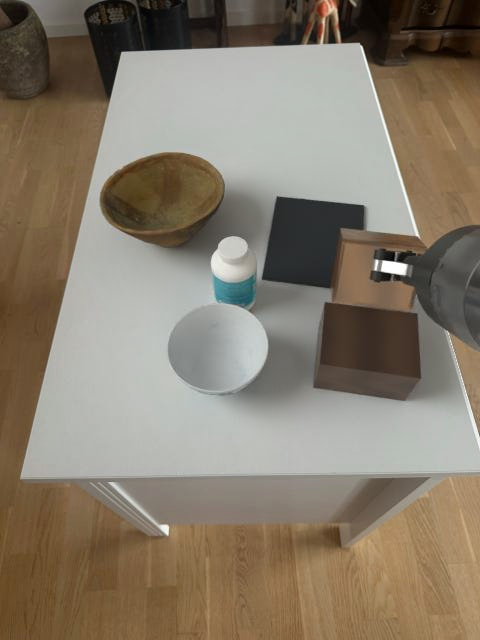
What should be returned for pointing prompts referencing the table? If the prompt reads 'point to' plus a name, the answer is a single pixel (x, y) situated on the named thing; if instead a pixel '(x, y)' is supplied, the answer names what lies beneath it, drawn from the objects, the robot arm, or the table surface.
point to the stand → (367, 351)
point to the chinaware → (217, 348)
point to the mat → (307, 239)
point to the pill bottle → (234, 273)
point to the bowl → (162, 197)
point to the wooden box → (356, 268)
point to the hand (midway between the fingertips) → (422, 265)
